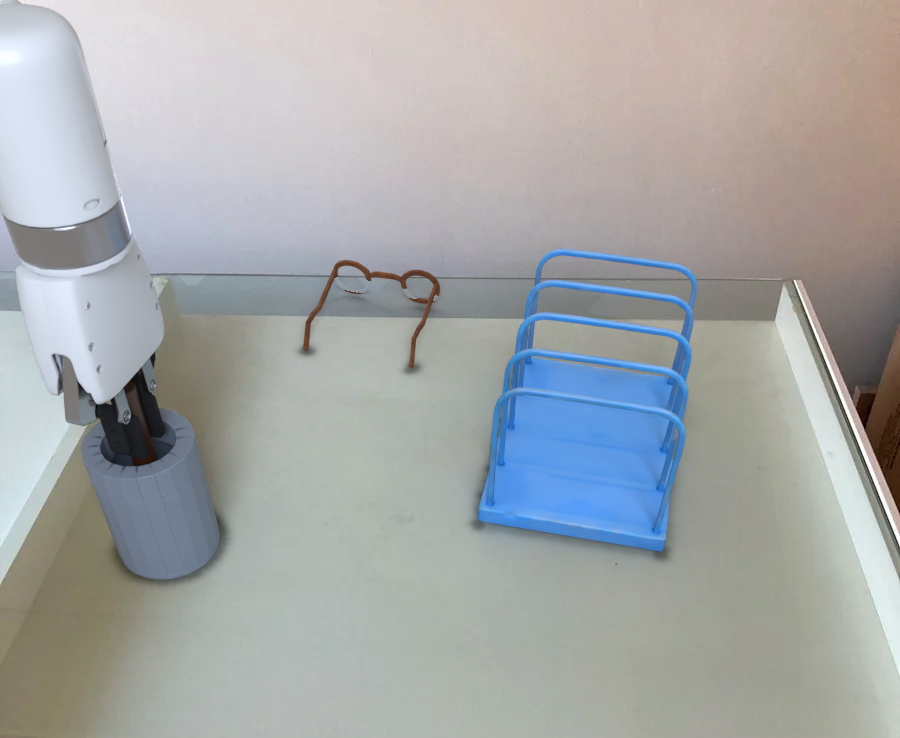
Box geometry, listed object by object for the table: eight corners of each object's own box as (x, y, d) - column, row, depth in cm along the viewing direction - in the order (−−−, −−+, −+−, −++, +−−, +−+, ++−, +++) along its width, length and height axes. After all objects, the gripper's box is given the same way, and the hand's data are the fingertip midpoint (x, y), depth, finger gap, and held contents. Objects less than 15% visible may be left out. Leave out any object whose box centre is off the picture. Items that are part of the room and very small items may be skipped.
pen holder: (101, 566, 81) (59, 465, 72) (150, 500, 87) (117, 398, 78) (192, 589, 80) (161, 488, 71) (236, 520, 85) (213, 418, 76)
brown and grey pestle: (133, 522, 80) (88, 396, 69) (153, 495, 82) (113, 369, 71) (170, 530, 79) (131, 405, 69) (190, 503, 81) (154, 377, 71)
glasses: (441, 307, 109) (441, 268, 105) (413, 370, 101) (412, 331, 97) (336, 291, 111) (333, 253, 107) (300, 352, 103) (295, 313, 99)
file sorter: (662, 555, 83) (699, 422, 72) (476, 525, 86) (483, 391, 74) (676, 391, 99) (709, 260, 87) (519, 369, 101) (530, 239, 90)
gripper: (84, 167, 66) (146, 378, 80) (-54, 279, 56) (44, 497, 70) (178, 182, 65) (224, 394, 79) (53, 299, 55) (131, 518, 69)
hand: (138, 441), depth 74 cm, fingers closed on brown and grey pestle, 2 cm apart
